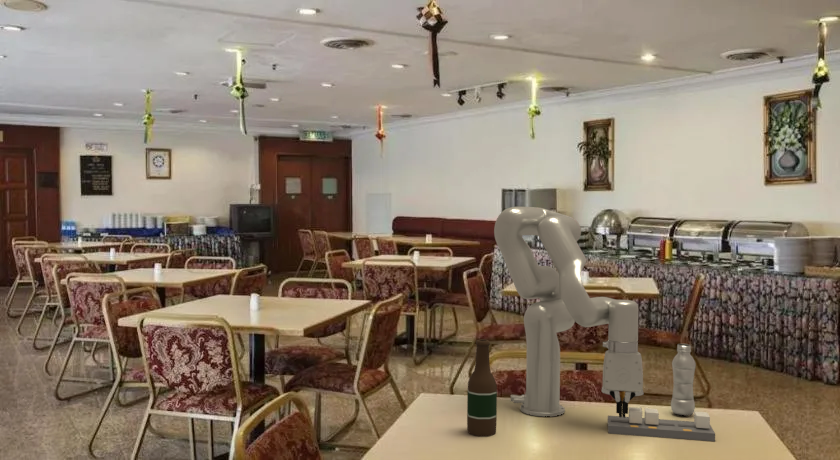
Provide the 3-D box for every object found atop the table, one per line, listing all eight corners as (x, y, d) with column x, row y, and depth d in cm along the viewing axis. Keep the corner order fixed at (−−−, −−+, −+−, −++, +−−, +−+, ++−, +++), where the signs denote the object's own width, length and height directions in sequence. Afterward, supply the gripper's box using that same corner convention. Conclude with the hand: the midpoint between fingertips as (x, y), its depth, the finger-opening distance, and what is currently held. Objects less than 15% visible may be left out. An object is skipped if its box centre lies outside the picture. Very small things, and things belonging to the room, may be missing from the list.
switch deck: (608, 433, 192) (608, 425, 192) (607, 422, 202) (607, 415, 202) (715, 441, 186) (715, 433, 186) (708, 430, 196) (709, 422, 196)
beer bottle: (499, 429, 194) (501, 338, 193) (492, 438, 187) (494, 343, 186) (470, 426, 196) (472, 336, 196) (462, 435, 189) (464, 341, 189)
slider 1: (629, 422, 194) (629, 411, 194) (628, 418, 198) (628, 407, 198) (642, 423, 193) (642, 412, 193) (641, 419, 197) (641, 407, 197)
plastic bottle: (691, 412, 214) (692, 343, 213) (697, 418, 207) (699, 347, 207) (668, 411, 214) (669, 342, 214) (673, 417, 208) (675, 346, 207)
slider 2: (645, 423, 193) (645, 412, 193) (644, 419, 197) (644, 408, 197) (658, 424, 192) (658, 413, 192) (657, 420, 196) (657, 408, 196)
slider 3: (696, 427, 190) (696, 416, 190) (694, 422, 194) (694, 411, 194) (709, 428, 189) (709, 416, 189) (707, 423, 193) (707, 412, 193)
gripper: (593, 348, 194) (593, 417, 194) (653, 351, 190) (652, 422, 191) (593, 343, 201) (593, 410, 201) (651, 346, 198) (650, 414, 198)
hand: (622, 416), depth 196 cm, fingers closed
